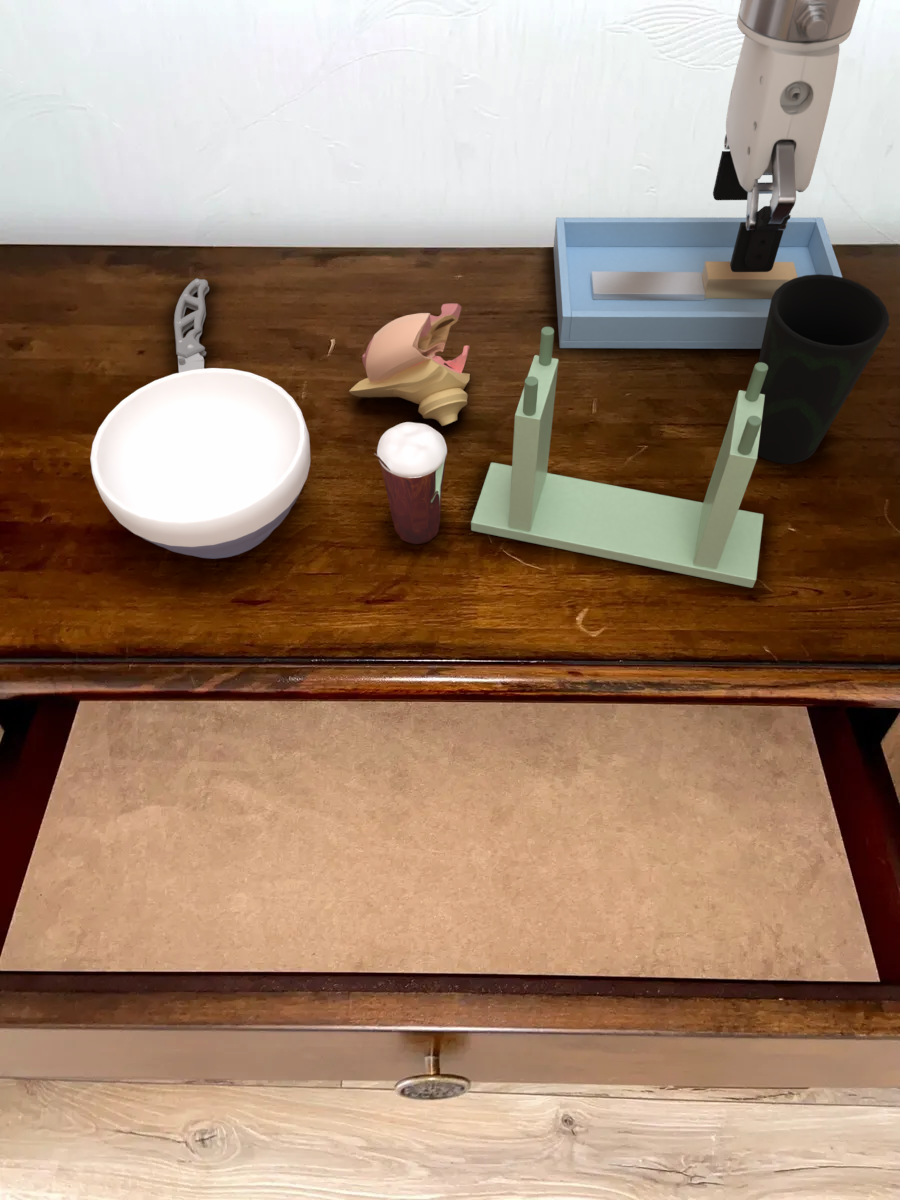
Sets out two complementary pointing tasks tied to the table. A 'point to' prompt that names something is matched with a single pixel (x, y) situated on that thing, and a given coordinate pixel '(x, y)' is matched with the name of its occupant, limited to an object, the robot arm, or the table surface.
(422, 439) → the milkshake
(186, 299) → the knife
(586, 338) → the tray
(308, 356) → the table surface
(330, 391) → the table surface
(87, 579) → the table surface
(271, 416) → the bowl
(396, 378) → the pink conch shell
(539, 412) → the rack
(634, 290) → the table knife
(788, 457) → the cup
